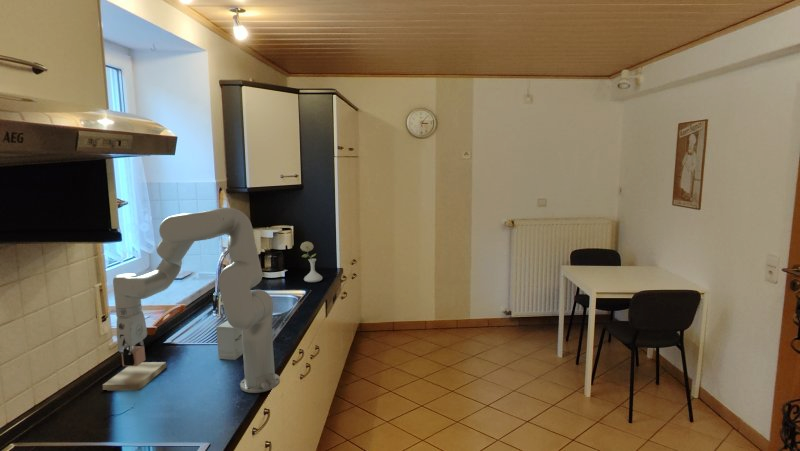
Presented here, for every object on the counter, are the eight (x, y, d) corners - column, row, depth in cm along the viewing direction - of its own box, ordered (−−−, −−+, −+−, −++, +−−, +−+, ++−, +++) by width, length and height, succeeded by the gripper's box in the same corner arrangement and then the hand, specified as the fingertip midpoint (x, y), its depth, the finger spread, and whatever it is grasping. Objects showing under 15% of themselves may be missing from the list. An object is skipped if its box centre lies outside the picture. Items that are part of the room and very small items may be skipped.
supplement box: (235, 360, 174) (233, 327, 172) (217, 359, 175) (215, 326, 173) (246, 352, 181) (243, 321, 179) (228, 351, 182) (226, 320, 181)
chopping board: (133, 367, 169) (133, 362, 169) (166, 367, 169) (165, 362, 169) (103, 390, 152) (102, 384, 152) (139, 390, 152) (138, 384, 152)
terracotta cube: (137, 366, 157) (135, 351, 157) (122, 366, 158) (121, 352, 157) (145, 359, 162) (144, 346, 162) (131, 359, 162) (130, 346, 162)
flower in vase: (325, 279, 292) (323, 239, 289) (319, 283, 281) (317, 242, 278) (305, 278, 294) (302, 239, 291) (298, 283, 283) (296, 243, 280)
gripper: (124, 318, 149) (130, 372, 151) (153, 302, 166) (158, 351, 168) (101, 318, 149) (107, 372, 152) (133, 302, 166) (137, 351, 168)
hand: (134, 361), depth 160 cm, fingers closed on terracotta cube, 5 cm apart
